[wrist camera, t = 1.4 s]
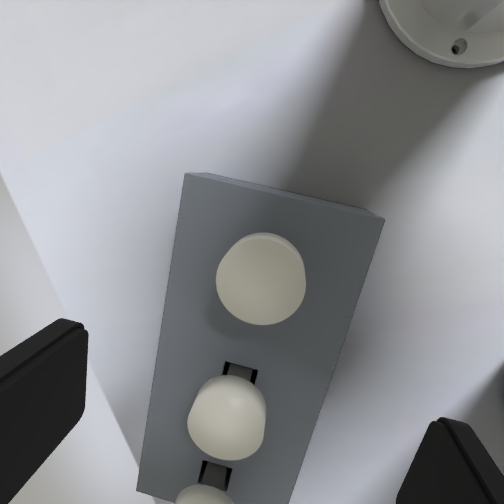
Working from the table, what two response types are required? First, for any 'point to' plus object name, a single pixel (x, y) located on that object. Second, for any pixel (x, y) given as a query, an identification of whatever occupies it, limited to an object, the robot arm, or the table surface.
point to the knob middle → (228, 415)
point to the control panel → (251, 332)
